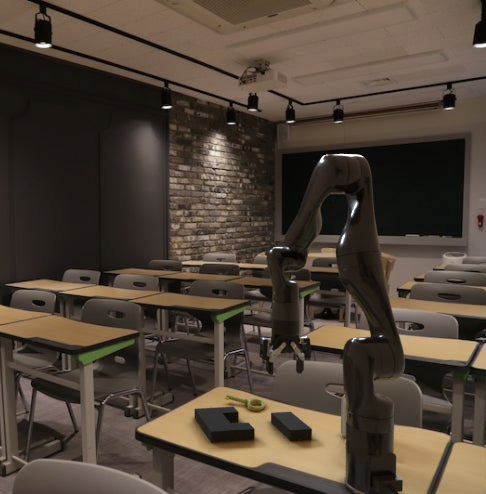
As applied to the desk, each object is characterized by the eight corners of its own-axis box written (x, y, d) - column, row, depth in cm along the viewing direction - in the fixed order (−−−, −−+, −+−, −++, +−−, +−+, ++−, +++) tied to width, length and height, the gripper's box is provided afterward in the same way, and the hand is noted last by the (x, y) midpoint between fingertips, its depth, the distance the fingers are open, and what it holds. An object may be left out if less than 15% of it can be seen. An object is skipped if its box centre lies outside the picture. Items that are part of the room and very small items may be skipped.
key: (224, 400, 159) (224, 393, 159) (264, 403, 156) (264, 396, 156) (224, 408, 152) (224, 402, 152) (265, 412, 149) (265, 405, 149)
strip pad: (290, 421, 142) (290, 411, 142) (311, 439, 130) (311, 428, 130) (270, 422, 141) (270, 412, 141) (290, 441, 129) (290, 430, 129)
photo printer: (359, 426, 138) (360, 383, 137) (374, 431, 134) (375, 387, 134) (338, 435, 132) (338, 390, 132) (353, 441, 129) (354, 395, 128)
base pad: (254, 439, 130) (254, 428, 130) (211, 442, 129) (211, 431, 129) (233, 416, 146) (233, 406, 146) (194, 418, 145) (194, 408, 144)
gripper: (266, 320, 134) (266, 378, 135) (316, 319, 135) (315, 376, 136) (256, 315, 141) (255, 370, 142) (302, 314, 143) (302, 368, 144)
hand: (284, 373), depth 139 cm, fingers open, 8 cm apart
